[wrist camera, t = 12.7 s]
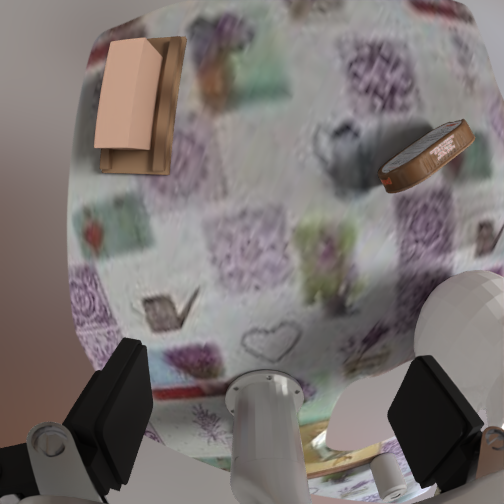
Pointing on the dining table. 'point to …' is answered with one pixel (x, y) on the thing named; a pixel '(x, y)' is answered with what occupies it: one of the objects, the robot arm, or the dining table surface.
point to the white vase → (468, 337)
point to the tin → (425, 156)
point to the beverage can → (388, 477)
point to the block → (128, 96)
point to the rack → (163, 121)
